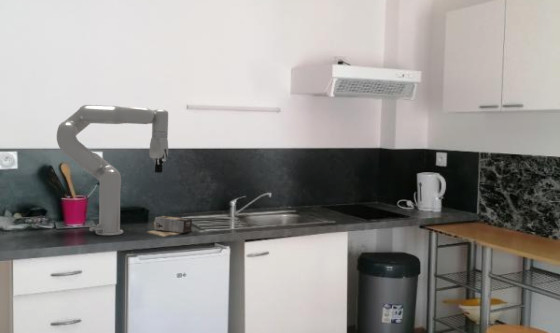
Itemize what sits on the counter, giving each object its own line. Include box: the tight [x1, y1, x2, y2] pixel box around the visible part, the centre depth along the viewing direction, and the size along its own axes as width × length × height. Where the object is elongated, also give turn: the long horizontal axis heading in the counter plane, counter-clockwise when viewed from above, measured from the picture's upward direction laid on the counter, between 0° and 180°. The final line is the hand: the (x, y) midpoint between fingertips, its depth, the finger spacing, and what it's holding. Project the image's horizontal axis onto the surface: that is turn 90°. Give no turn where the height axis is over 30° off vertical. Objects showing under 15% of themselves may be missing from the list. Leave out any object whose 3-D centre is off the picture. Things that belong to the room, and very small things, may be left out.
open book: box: [146, 229, 182, 238], centre depth 259 cm, size 11×13×1 cm
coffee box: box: [154, 215, 193, 234], centre depth 264 cm, size 9×6×16 cm
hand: (158, 172), depth 261 cm, fingers closed
